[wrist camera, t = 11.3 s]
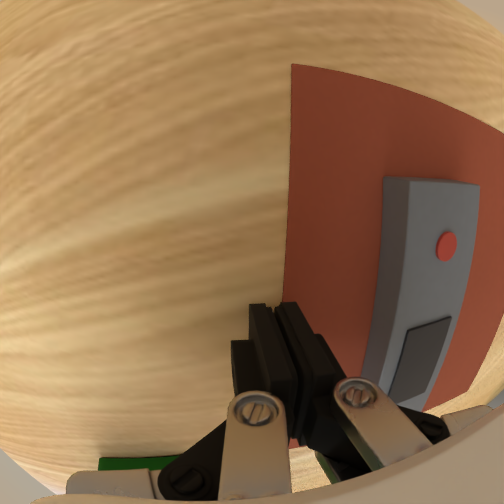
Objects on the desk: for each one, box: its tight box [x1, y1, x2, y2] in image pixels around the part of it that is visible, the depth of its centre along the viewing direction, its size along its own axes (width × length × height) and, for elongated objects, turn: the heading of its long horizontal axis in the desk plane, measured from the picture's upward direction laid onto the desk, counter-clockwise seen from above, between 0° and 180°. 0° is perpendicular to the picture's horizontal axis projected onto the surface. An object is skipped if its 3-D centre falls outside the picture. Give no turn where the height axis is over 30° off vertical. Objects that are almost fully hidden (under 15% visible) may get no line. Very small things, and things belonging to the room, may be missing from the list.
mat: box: [282, 64, 504, 449], centre depth 12 cm, size 20×18×1 cm
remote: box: [361, 176, 480, 412], centre depth 11 cm, size 14×4×2 cm, turn 4°
